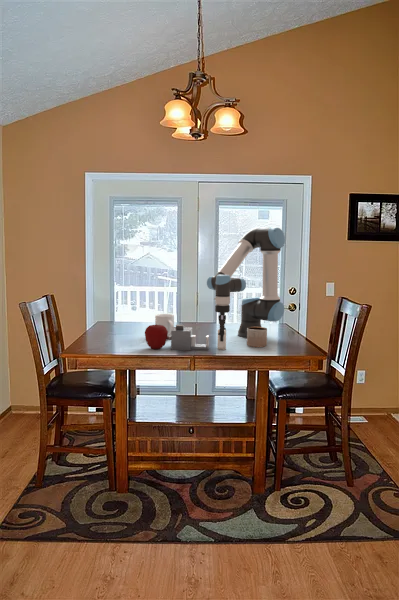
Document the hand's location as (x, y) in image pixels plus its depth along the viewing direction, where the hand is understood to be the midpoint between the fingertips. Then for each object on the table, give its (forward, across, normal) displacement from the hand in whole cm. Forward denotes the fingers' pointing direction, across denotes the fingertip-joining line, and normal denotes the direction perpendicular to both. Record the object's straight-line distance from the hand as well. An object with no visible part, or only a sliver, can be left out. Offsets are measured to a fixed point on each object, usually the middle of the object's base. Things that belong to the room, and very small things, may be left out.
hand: (221, 344), depth 251 cm
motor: (+2, 0, -18) cm, 18 cm away
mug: (+2, -27, -33) cm, 43 cm away
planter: (+2, -11, +19) cm, 22 cm away
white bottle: (+2, 0, 0) cm, 2 cm away
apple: (+2, +4, -34) cm, 34 cm away
